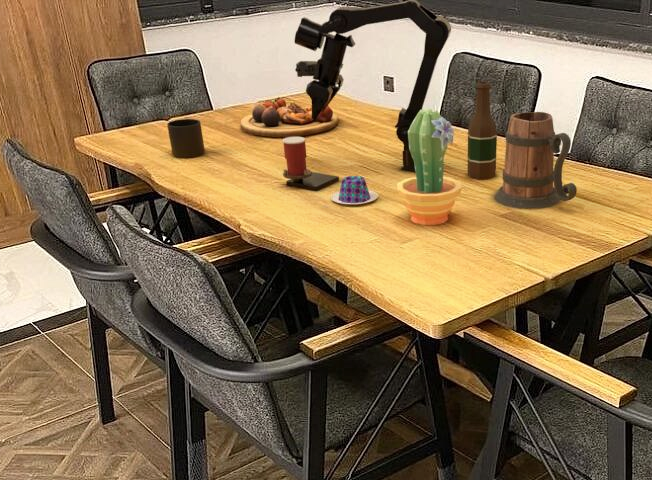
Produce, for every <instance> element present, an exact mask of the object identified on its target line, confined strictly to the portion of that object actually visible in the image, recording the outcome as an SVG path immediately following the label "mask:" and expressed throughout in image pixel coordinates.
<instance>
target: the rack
mask: <svg viewBox="0 0 652 480" xmlns="http://www.w3.org/2000/svg"><path fill="white" fill-rule="evenodd" d="M282 177H283V178H284V179H288V180H286V182H285V183H286V184H285V185H286V186H287V187H292V188H297V189H303V190H307V191H313V192H318V191H320V190H323V189H324V188H327V187H329V186H331V185H333V184H335V183H338V182H339V181H340V177H339V175H332V174H327V173H321V172H315V171H312V170H310V169H308V168H307V170H304V174H303V175H289V174H288V170H287V168H284V169H283V172H282Z"/></svg>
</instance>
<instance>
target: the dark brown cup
mask: <svg viewBox="0 0 652 480" xmlns="http://www.w3.org/2000/svg"><path fill="white" fill-rule="evenodd" d="M166 126H167V132H168V136H169V142H170V148H171V149H170V150H171V154H172V156H173V157H176V158H180V159H190V158H191V159H192V158H197V157H200V156H202V155H204V154H205V152H206V150H205V142H204V137H203V131H202V130H203V129H202V124H201V121H200V120H199V119H196V118H195V119H194V118H181V119H180V118H179V119H174V120H171V121H168V122H167V124H166Z"/></svg>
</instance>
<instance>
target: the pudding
mask: <svg viewBox="0 0 652 480" xmlns="http://www.w3.org/2000/svg"><path fill="white" fill-rule="evenodd" d="M378 197H379V194H378V193H377V192H376V191H374V190H371V189H369V188H368V184H367V181H366V180H365V177H363V176H360V175H348V176H346V177H343V178H342V180H341V182H340V188H339V191H335V192H334V193H332V194H331V195H330V200H331V201H333V202H335V203H338V204H343V205H361V204H368V203H370V202H372V201H375V200H376V199H378Z"/></svg>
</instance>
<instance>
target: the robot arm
mask: <svg viewBox="0 0 652 480" xmlns="http://www.w3.org/2000/svg"><path fill="white" fill-rule="evenodd" d="M300 19H301V20H300V23H299V25H298V28H297V29H296V31H295V35H294V44H295V45H297V46H300V47H302V48H306V49H308V50H311V51H313V52H317V50H318V49H319V50H321V49H322V51H321V56H320V58H319V59H317V61H315V60H300V61H298V62H296V64H295V66H296V67H295V69H294V71H295V72H296V75H297V76H296V77H297V78H302V77H312V79H313V80H311V81H309V82H308V84H306V89H305V93H306V94H307V96H308V97H309V98H310V100H311V106H312V119H314V120H316V119H317V117H318V116H319V114H320V113H321V111H322V112H323V111H324V110H325V109H326V107H327V106H329V104H330V103H331V102H332V101H333V99H334V98H335V96H336V95H337V94H338V93H339V91H340V90H341V87H343V83H344V80H345V79H344V77H343V75H342V74H340V73H341V71H342V69H343V67H344V63H343V62H344V58H345V54H346V51H347V47H349V48H353V47H354V46H356V42H355V40H354V39H353V35H352V34H349V35H348V36H346V35H344V34H346V33H349V32H352V31H354V30H356V29H359V28H362V27H364V26H367V25H372V24H380V23H385V22H391V21H397V20H399V21H400V20H405V19H409V20H411V22H413V23H414V24H415V25H416V26H417V27H418V28H419V30H421V31H422V32H423V33H425V39H424V48H423V57H422V59H421V63H420V66H419V69H418V73H417V77H416V80H415V83H414V86H413V89H412V92H411V95H410V99H409V103H408V106H407V107H406V108H404V107H402V108H401V109H400V111H399V113H398V117H397V122H396V124H395V125H394V128H395V129H396V130H395V134H396V136H397V139H398V140H399V141H400V142H401V143H402V145H403V150H402V152H401V153H402V166H401V167H400V170H402V171H409V172H414V173H416V172H415V165H414V160H413V157H412V155H411V152H410V150H409V139H408V130H409V128H410V126H411V124H412V122H413V121H414V119H415V117H416V116H417V114H418V112H419V111H420V110H423V107H424V105H425V101H426V98H427V94H428V91H429V88H430V84H431V82H432V78H433V75H434V73H435V69H436V67H437V66H436V65H437V62H438V59H439V57H440V54H441V53H442V51H443V49H444V47H445V45H446V44H447V41H448V39H449V37H450V35H451V33H452V25H451V23H450V21H449V20H448V19H447V18H446V17H444V16H437V15H436V14H435V13H434V12H433V11H431V10H429V8H427V7H425V6H424V5H422V4H421V3H420V2H419V1H418V0H405V1H399V2H394V3H388V4H382V5H376V6H369V7H358V6H340V7H337V8H336V9H335V10H333V11H332V12H331V13H330V15H329V18H328V20H327V21H325V22H323V23H322V24H320V23H318V22H316V21H313V20H311V19H309V18H307V17H305V16H303V17H302V18H300ZM332 33H335V34H332ZM322 47H323V48H322Z"/></svg>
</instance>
